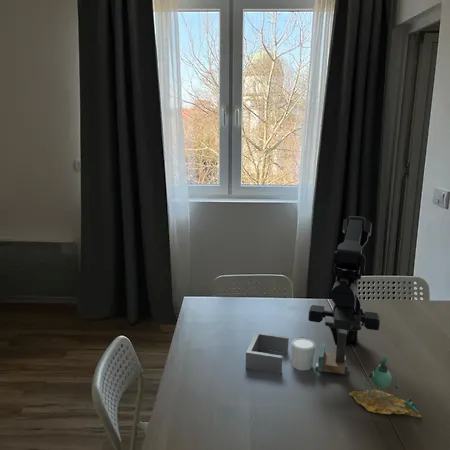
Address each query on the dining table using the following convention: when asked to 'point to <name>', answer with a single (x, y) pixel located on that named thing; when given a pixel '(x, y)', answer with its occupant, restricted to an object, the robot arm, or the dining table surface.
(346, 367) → the rail
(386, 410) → the gold and teal figure
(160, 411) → the dining table surface
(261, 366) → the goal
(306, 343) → the white cylinder
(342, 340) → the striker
